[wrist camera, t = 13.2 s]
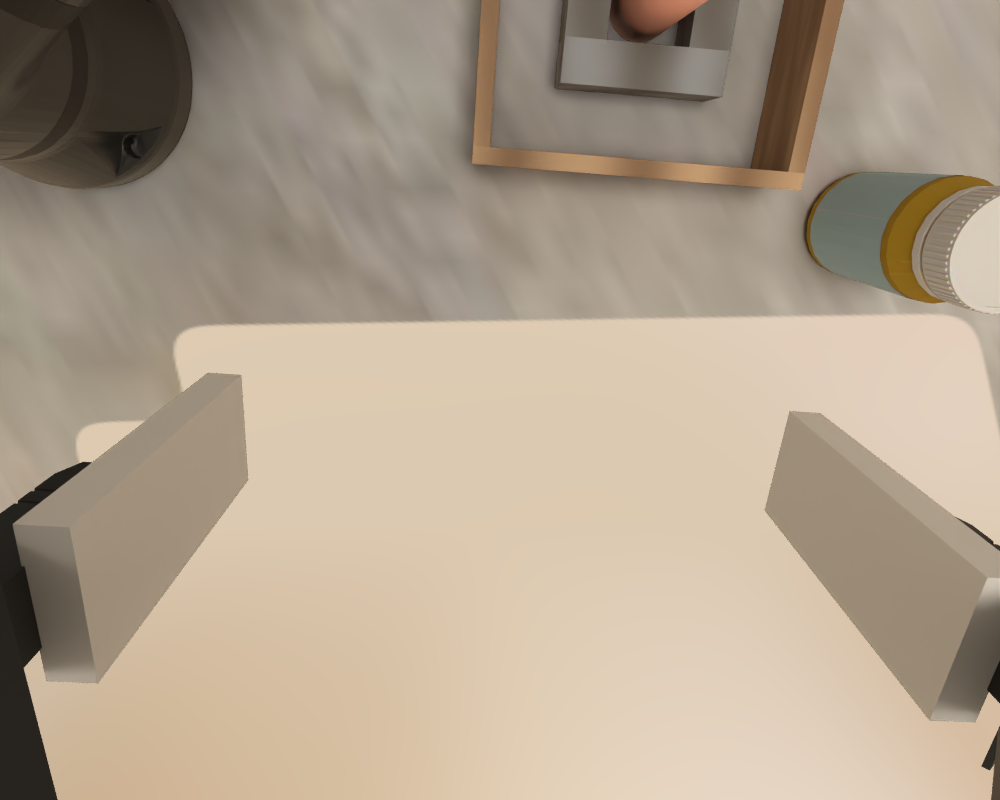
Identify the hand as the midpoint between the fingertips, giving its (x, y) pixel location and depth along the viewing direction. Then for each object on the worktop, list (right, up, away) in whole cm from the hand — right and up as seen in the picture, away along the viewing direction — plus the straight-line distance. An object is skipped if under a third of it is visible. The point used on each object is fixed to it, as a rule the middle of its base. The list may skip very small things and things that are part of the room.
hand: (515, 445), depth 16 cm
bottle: (+25, +14, +31) cm, 42 cm away
